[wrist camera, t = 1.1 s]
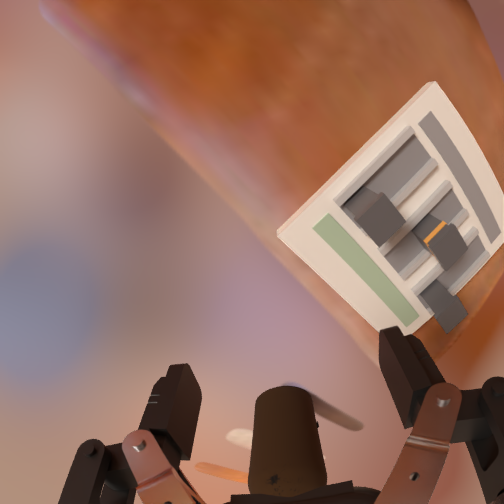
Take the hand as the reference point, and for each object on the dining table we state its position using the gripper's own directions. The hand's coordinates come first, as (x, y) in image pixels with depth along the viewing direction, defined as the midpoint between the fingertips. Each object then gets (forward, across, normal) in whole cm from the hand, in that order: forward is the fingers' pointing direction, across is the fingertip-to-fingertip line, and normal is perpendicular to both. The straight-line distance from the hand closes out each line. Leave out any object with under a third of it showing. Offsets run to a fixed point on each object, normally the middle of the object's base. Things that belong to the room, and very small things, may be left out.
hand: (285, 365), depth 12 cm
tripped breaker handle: (+22, -18, +5) cm, 28 cm away
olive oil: (+25, +4, +32) cm, 40 cm away
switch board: (+24, -18, +5) cm, 30 cm away
